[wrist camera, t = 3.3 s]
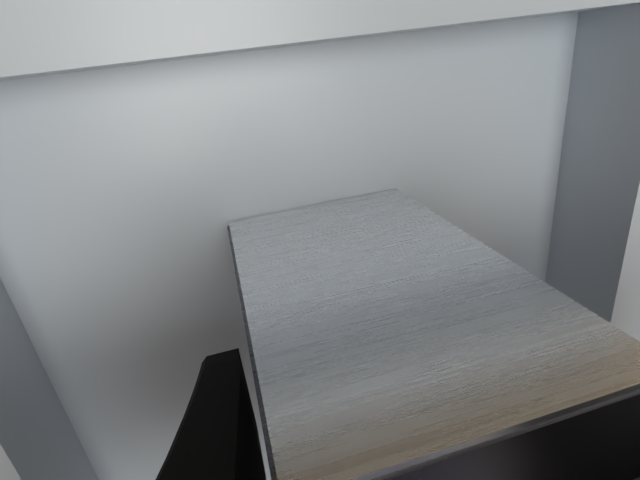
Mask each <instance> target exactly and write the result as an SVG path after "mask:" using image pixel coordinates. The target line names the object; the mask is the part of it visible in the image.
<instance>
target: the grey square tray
mask: <svg viewBox="0 0 640 480" xmlns="http://www.w3.org/2000/svg"><path fill="white" fill-rule="evenodd" d="M392 189H397V190H399V191H401V192H402V193H404V194H405V195H407V196H409V197H410V198H412V199H413V200H415V201H417V202H418V203H420V204H421V205H423V206H425V207H426V208H428V209H429V210H431V211H432V212H434V213H436V214H437V215H439V216H440V217H442V218H444V219H445V220H447V221H448V222H450V223H452V224H453V225H455V226H456V227H458V228H460V229H461V230H463V231H464V232H466V233H468V234H469V235H471V236H472V237H474V238H475V239H477V240H479V241H480V242H482V243H483V244H485V245H487V246H488V247H490V248H491V249H493V250H495V251H496V252H498V253H499V254H501V255H503V256H504V257H506V258H507V259H509V260H510V261H512V262H514V263H515V264H517V265H518V266H520V267H522V268H523V269H525V270H526V271H528V272H530V273H531V274H533V275H534V276H536V277H538V278H539V279H541V280H542V281H544V282H546V283H547V284H549V285H550V286H552V287H553V288H555V289H557V290H558V291H560V292H561V293H563V294H565V295H566V296H568V297H569V298H571V299H573V300H574V301H576V302H577V303H579V304H581V305H582V306H584V307H585V308H587V309H588V310H590V311H592V312H593V313H595V314H596V315H598V316H600V317H601V318H603V319H604V320H606V321H608V322H609V323H611V324H612V325H614V326H616V327H617V328H619V329H620V330H622V331H624V332H625V333H627V334H628V335H630V336H631V337H633V338H635V339H636V340H638V341H639V340H640V0H0V480H155V479H156V477H157V475H158V473H159V471H160V469H161V467H162V465H163V463H164V461H165V459H166V456H167V454H168V452H169V450H170V447H171V445H172V442H173V440H174V438H175V435H176V433H177V431H178V428H179V426H180V423H181V421H182V419H183V416H184V414H185V411H186V409H187V406H188V403H189V401H190V398H191V395H192V392H193V390H194V387H195V384H196V381H197V378H198V374H199V371H200V368H201V364H202V362H203V360H204V359H205V358H206V356H209V355H213V354H217V353H221V352H225V351H229V350H233V349H236V348H239V352H240V357H241V361H242V365H243V369H244V373H245V378H246V382H247V386H248V390H249V394H250V399H251V403H252V407H253V411H254V415H255V420H256V424H257V429H258V434H259V440H260V446H261V451H262V457H263V463H264V468H265V474H266V480H271V475H270V470H269V464H268V458H267V452H266V447H265V441H264V435H263V429H262V424H261V418H260V412H259V407H258V401H257V395H256V389H255V384H254V378H253V372H252V366H251V361H250V355H249V349H248V343H247V338H246V332H245V326H244V321H243V315H242V309H241V303H240V298H239V292H238V286H237V280H236V275H235V269H234V263H233V258H232V252H231V246H230V240H229V235H228V229H227V226H229V221H233V220H238V219H243V218H248V217H254V216H259V215H264V214H269V213H274V212H279V211H284V210H289V209H294V208H300V207H305V206H310V205H315V204H320V203H325V202H330V201H335V200H340V199H346V198H351V197H356V196H361V195H366V194H371V193H376V192H381V191H386V190H392Z"/></svg>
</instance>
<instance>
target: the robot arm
mask: <svg viewBox="0 0 640 480" xmlns="http://www.w3.org/2000/svg"><path fill="white" fill-rule="evenodd" d="M155 480H266V474H265V468H264V463H263V457H262V451H261V446H260V440H259V434H258V429H257V424H256V420H255V415H254V411H253V407H252V403H251V399H250V394H249V390H248V386H247V382H246V378H245V373H244V369H243V365H242V361H241V357H240V352H239V348H236V349H233V350H229V351H225V352H221V353H217V354H213V355H209V356H206V358H205V359H204V360H203V362H202V364H201V368H200V371H199V374H198V378H197V381H196V384H195V387H194V390H193V392H192V395H191V398H190V401H189V403H188V406H187V409H186V411H185V414H184V416H183V419H182V421H181V423H180V426H179V428H178V431H177V433H176V435H175V438H174V440H173V442H172V445H171V447H170V450H169V452H168V454H167V456H166V459H165V461H164V463H163V465H162V467H161V469H160V471H159V473H158V475H157V477H156V479H155Z"/></svg>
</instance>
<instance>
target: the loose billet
mask: <svg viewBox="0 0 640 480" xmlns="http://www.w3.org/2000/svg"><path fill="white" fill-rule="evenodd" d="M227 229H228V235H229V240H230V246H231V252H232V258H233V263H234V269H235V275H236V280H237V286H238V292H239V298H240V303H241V309H242V315H243V321H244V326H245V332H246V338H247V343H248V349H249V355H250V361H251V366H252V372H253V378H254V384H255V389H256V395H257V401H258V407H259V412H260V418H261V424H262V429H263V435H264V441H265V447H266V452H267V458H268V464H269V470H270V475H271V480H640V342H639V341H638V340H636V339H635V338H633V337H631V336H630V335H628V334H627V333H625V332H624V331H622V330H620V329H619V328H617V327H616V326H614V325H612V324H611V323H609V322H608V321H606V320H604V319H603V318H601V317H600V316H598V315H596V314H595V313H593V312H592V311H590V310H588V309H587V308H585V307H584V306H582V305H581V304H579V303H577V302H576V301H574V300H573V299H571V298H569V297H568V296H566V295H565V294H563V293H561V292H560V291H558V290H557V289H555V288H553V287H552V286H550V285H549V284H547V283H546V282H544V281H542V280H541V279H539V278H538V277H536V276H534V275H533V274H531V273H530V272H528V271H526V270H525V269H523V268H522V267H520V266H518V265H517V264H515V263H514V262H512V261H510V260H509V259H507V258H506V257H504V256H503V255H501V254H499V253H498V252H496V251H495V250H493V249H491V248H490V247H488V246H487V245H485V244H483V243H482V242H480V241H479V240H477V239H475V238H474V237H472V236H471V235H469V234H468V233H466V232H464V231H463V230H461V229H460V228H458V227H456V226H455V225H453V224H452V223H450V222H448V221H447V220H445V219H444V218H442V217H440V216H439V215H437V214H436V213H434V212H432V211H431V210H429V209H428V208H426V207H425V206H423V205H421V204H420V203H418V202H417V201H415V200H413V199H412V198H410V197H409V196H407V195H405V194H404V193H402V192H401V191H399V190H397V189H392V190H386V191H381V192H376V193H371V194H366V195H361V196H356V197H351V198H346V199H340V200H335V201H330V202H325V203H320V204H315V205H310V206H305V207H300V208H294V209H289V210H284V211H279V212H274V213H269V214H264V215H259V216H254V217H248V218H243V219H238V220H233V221H229V226H227Z"/></svg>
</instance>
